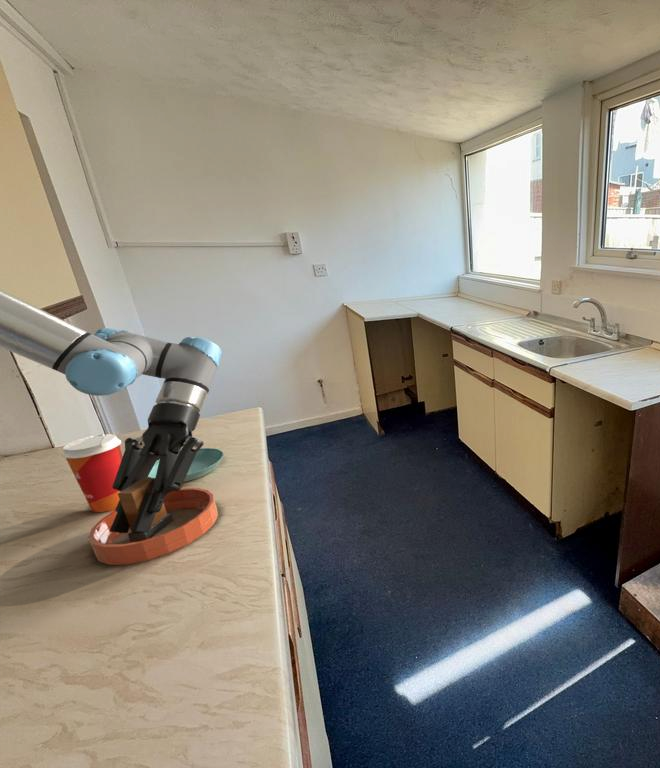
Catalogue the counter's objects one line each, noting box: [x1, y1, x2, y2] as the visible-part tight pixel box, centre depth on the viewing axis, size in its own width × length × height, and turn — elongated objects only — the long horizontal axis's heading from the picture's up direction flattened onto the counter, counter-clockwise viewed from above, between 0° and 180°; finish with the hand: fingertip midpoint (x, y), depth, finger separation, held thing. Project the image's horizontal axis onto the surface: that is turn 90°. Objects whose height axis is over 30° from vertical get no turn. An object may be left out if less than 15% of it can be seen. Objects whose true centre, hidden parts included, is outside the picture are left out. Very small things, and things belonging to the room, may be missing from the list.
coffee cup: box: [61, 433, 123, 513], centre depth 80 cm, size 8×8×15 cm
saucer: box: [147, 447, 224, 483], centre depth 95 cm, size 15×15×3 cm
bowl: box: [87, 487, 219, 566], centre depth 73 cm, size 17×17×4 cm
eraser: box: [118, 477, 174, 543], centre depth 72 cm, size 6×3×10 cm, turn 2°
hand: (129, 531), depth 69 cm, fingers closed on eraser, 3 cm apart
